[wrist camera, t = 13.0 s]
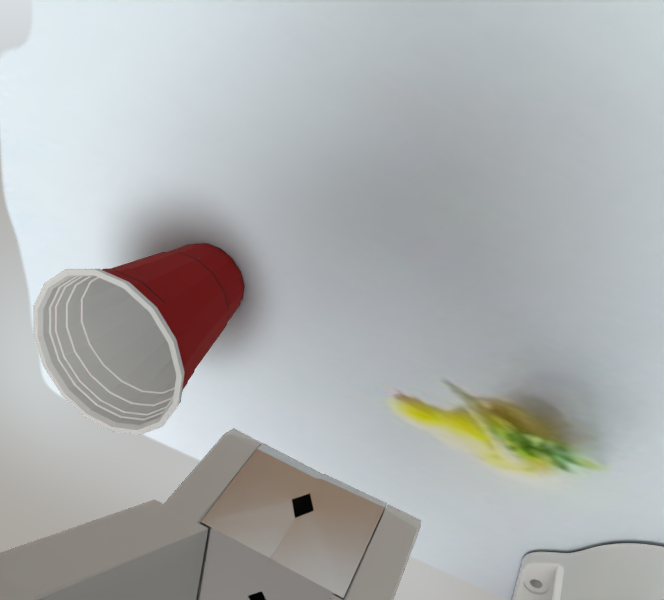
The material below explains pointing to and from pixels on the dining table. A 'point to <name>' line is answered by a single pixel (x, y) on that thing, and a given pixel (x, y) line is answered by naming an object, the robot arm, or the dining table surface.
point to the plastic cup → (134, 332)
